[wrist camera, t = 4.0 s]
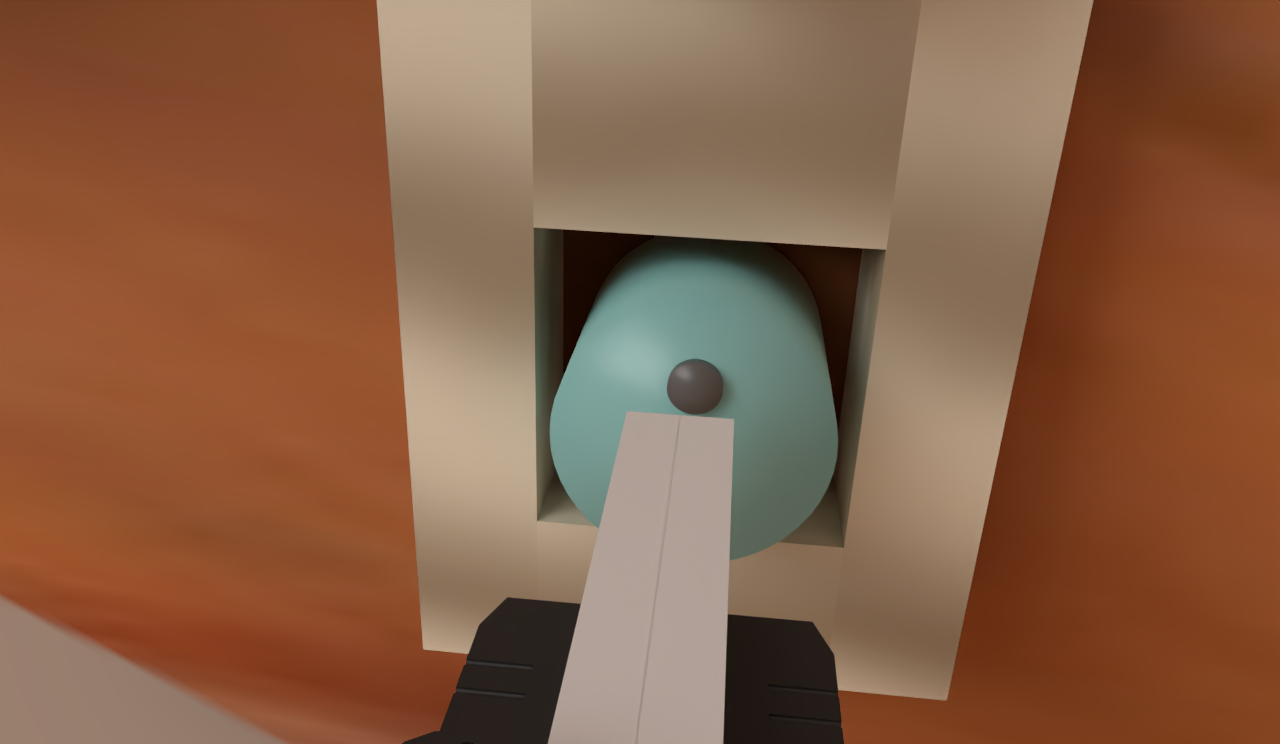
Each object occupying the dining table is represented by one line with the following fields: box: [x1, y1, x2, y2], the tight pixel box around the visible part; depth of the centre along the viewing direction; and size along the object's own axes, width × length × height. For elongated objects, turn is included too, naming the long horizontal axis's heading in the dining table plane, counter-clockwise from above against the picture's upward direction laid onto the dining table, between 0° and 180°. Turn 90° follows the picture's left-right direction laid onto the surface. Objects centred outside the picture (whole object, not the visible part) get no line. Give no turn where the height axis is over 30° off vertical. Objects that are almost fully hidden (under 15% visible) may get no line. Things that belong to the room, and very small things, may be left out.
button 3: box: [549, 235, 838, 560], centre depth 19 cm, size 5×5×5 cm
